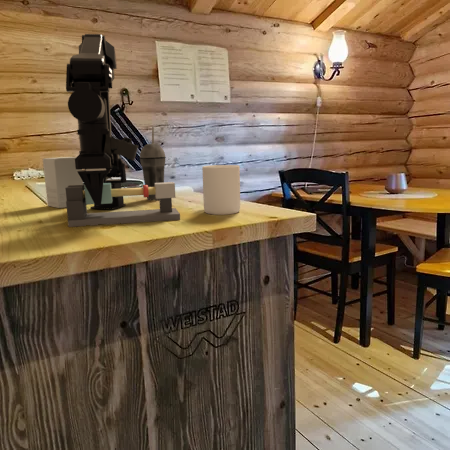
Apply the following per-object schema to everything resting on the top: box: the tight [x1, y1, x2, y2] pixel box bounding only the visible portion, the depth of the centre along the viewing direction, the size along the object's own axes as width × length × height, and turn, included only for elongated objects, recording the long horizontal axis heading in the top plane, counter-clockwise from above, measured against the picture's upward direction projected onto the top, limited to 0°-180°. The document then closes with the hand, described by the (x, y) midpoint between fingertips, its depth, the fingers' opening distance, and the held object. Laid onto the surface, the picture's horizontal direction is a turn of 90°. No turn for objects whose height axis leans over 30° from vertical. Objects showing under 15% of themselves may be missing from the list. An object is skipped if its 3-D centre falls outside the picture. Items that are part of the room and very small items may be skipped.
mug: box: [201, 164, 241, 216], centre depth 96 cm, size 12×8×10 cm
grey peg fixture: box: [65, 181, 181, 228], centre depth 88 cm, size 22×8×8 cm, turn 103°
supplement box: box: [42, 156, 84, 209], centre depth 110 cm, size 7×7×13 cm
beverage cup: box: [139, 126, 167, 201], centre depth 117 cm, size 7×7×20 cm
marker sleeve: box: [84, 183, 112, 206], centre depth 86 cm, size 5×4×4 cm
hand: (99, 202), depth 87 cm, fingers open, 9 cm apart
